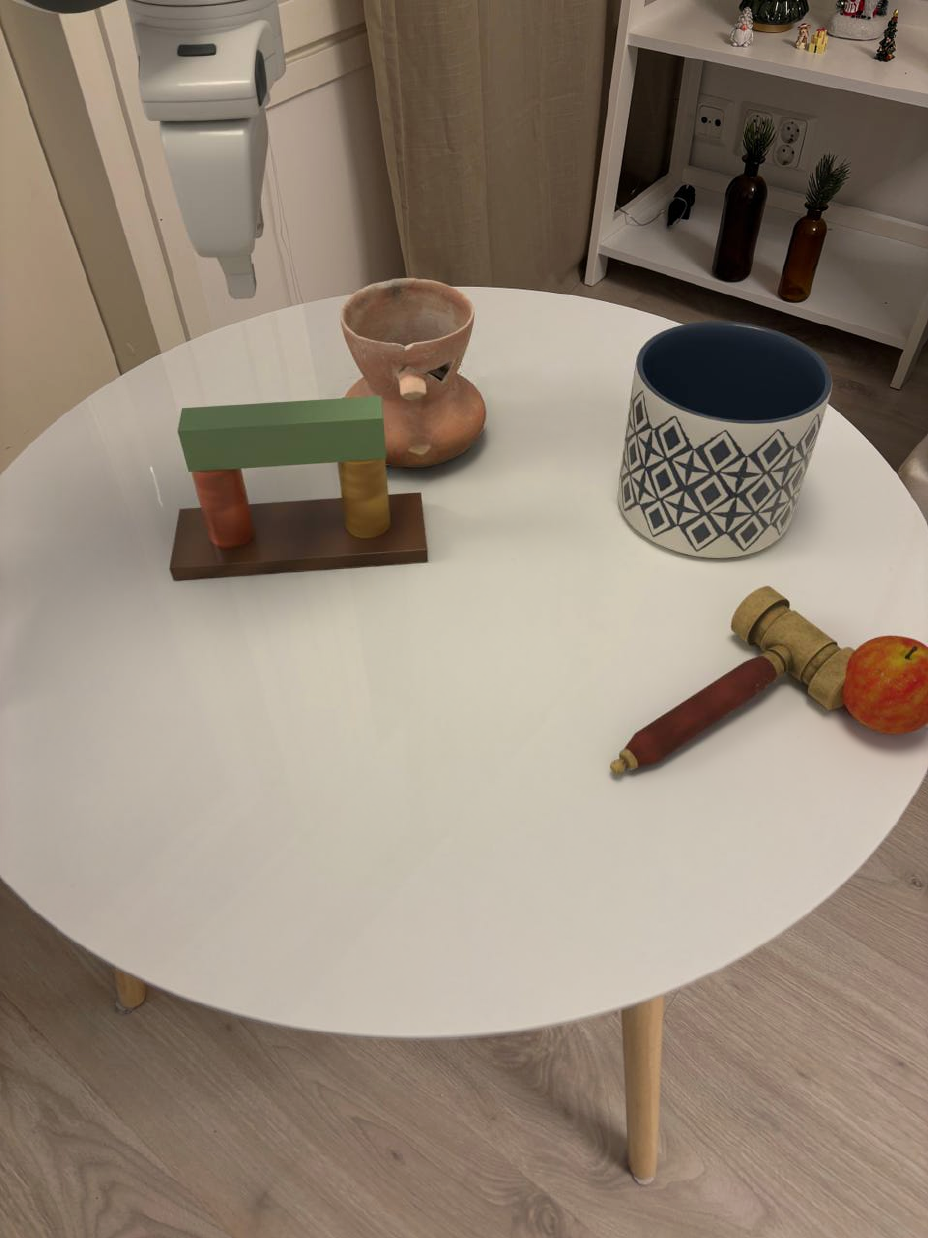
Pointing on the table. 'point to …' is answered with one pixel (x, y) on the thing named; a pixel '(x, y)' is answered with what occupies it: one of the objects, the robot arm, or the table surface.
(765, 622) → the gavel
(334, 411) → the bar
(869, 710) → the fruit
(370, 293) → the ceramic jug
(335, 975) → the table surface
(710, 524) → the planter
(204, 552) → the rod stand
